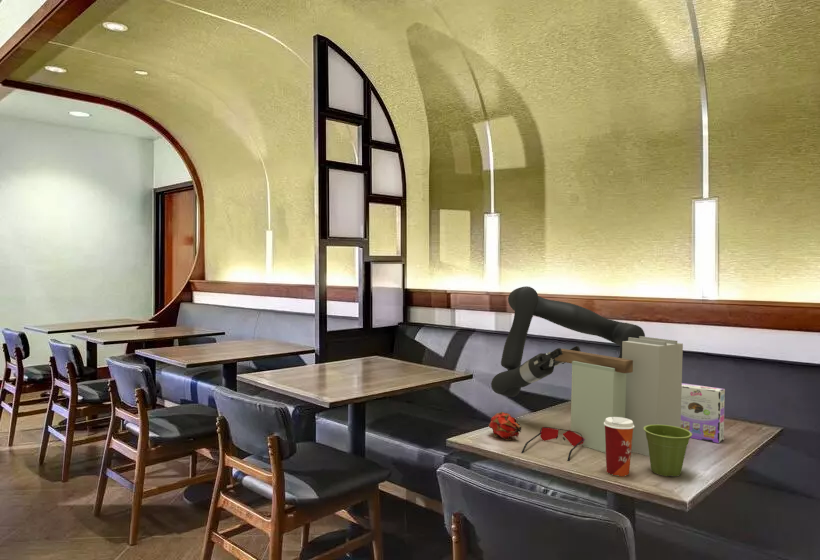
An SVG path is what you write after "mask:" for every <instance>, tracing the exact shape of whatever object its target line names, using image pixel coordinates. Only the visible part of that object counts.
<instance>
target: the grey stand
mask: <svg viewBox="0 0 820 560" xmlns="http://www.w3.org/2000/svg"><path fill="white" fill-rule="evenodd" d="M683 348H684V344H683V343H681V342H678V340H675V339H673V340H672V339H666V338H658V337H650V336H649V337H648V336H645V337H642V336H639V338H631V337H629V338H628V341H622V358H623V359H629V360H633V372H631V373H626V406H625V418H627V419H630V420H632V421H633V425H634V426H635V427H634V428H633V436H632V448H631V452H633V453H636V454H641V455H643V456H646V457H649V458H650V456H649V448H648V441H647V438H646V432H645V431H644V429H643V428H644V427H645V426H647V425H656V424H658V425H670V426H675V427H680V428H681V394H682V383H683V353H684V350H683Z"/></svg>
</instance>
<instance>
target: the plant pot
mask: <svg viewBox="0 0 820 560" xmlns="http://www.w3.org/2000/svg"><path fill="white" fill-rule="evenodd" d="M643 429H644V431H645V432H646V438H647V441H648V448H649V456H650V457H649V456H648V457H649V463H650V470H651V471H652V472H653V473H654V474H656V475H659V476H662V475H663V476H662V477H670V476H671V477H674V476H676V477H679V476H680V475H681V473H682V469H683V465H684V460H685V456H686V451H687V448H688V445H689V441H690V439H691V438H690V437H691V436H692V433H691V432H690V431H688V430H686V429H683V428H680V427H675V426H670V425H658V424H656V425H647V426H645V427H644V428H643ZM678 475H679V476H678Z"/></svg>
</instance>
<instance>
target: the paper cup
mask: <svg viewBox="0 0 820 560" xmlns="http://www.w3.org/2000/svg"><path fill="white" fill-rule="evenodd" d="M604 425H605V444H606V453H605V462H606V464H605V465H606V467H605V468H606V473H607V472H608V474H609V473H610V474H609V475H611V474H613V475H612V476H614V475H619V476H618V477H626V476H625V475H628V474H629V475H630V467H631V456H632V451H631V448H632V436H633V428H634V427H635V426H634V425H633V421H632V420H630V419H627V418H622V417H608V418H606V419H605V422H604ZM629 475H628V476H629Z"/></svg>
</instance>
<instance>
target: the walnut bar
mask: <svg viewBox="0 0 820 560" xmlns="http://www.w3.org/2000/svg"><path fill="white" fill-rule="evenodd" d="M556 349H557V348H556ZM556 349H554V350H556ZM561 350H562V353H563V354H562V355H560V356H559V357H557V358H555V361H561V362H566V363H567V364H572V361H576V362H582V363H588V364H593V365H599V366H604V367H610V368H615V372H620V373H631V372H633V360H629V359H623V358H618V357H615V356H610V355H604V354H603V355H602V354H596V353H592V352H591V353H590V352H585V351H581V352H579V351H573V350H570V349H568V348H567V349H566V348H561Z"/></svg>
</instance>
